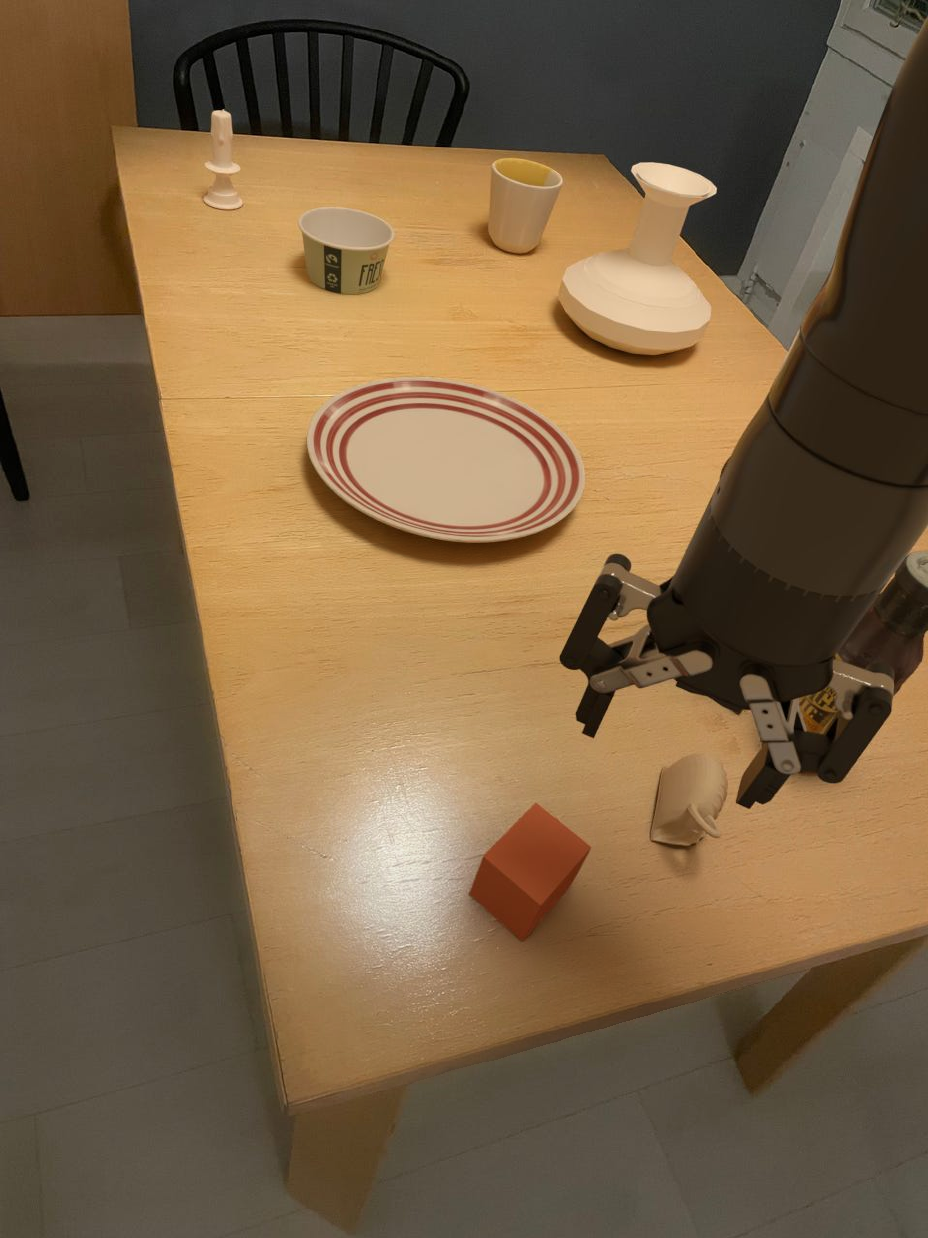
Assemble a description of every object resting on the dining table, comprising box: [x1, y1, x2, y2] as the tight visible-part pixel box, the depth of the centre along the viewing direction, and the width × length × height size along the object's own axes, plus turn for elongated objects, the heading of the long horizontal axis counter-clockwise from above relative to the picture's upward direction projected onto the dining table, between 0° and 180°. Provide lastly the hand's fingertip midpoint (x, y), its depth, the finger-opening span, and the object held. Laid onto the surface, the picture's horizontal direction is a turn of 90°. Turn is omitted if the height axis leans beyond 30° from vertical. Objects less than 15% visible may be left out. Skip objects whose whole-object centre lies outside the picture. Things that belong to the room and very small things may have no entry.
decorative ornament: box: [650, 752, 729, 847], centre depth 62 cm, size 4×8×5 cm, turn 161°
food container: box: [297, 206, 396, 295], centre depth 111 cm, size 12×12×6 cm
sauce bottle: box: [799, 550, 928, 771], centre depth 63 cm, size 7×6×20 cm
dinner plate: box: [306, 376, 586, 544], centre depth 86 cm, size 27×27×3 cm
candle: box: [203, 108, 244, 211], centre depth 119 cm, size 5×5×12 cm
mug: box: [487, 157, 564, 255], centre depth 127 cm, size 14×10×10 cm
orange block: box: [468, 802, 592, 942], centre depth 56 cm, size 4×6×5 cm
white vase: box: [557, 161, 718, 356], centre depth 110 cm, size 20×20×19 cm
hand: (667, 759), depth 46 cm, fingers open, 8 cm apart
